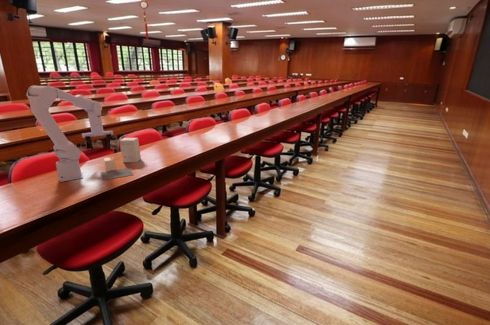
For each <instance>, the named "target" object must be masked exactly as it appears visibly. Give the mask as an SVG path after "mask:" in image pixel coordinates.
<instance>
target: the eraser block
mask: <svg viewBox="0 0 490 325" xmlns="http://www.w3.org/2000/svg"><path fill="white" fill-rule="evenodd" d="M103 160H104V166H105V172H106V171H112V170H117V168H116V162H115V158H114V156H110V157H104V158H103Z"/></svg>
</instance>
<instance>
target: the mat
mask: <svg viewBox="0 0 490 325" xmlns="http://www.w3.org/2000/svg"><path fill="white" fill-rule="evenodd" d="M100 176H101V181H107V180H108V181H109V180H112V179H119V177H120V178H125V177H130V176H134V173H133V171H132V169H131V167H125V168H120V169H116V170H111V171H106V170H105V171H100Z"/></svg>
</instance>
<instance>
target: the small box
mask: <svg viewBox="0 0 490 325" xmlns="http://www.w3.org/2000/svg"><path fill="white" fill-rule="evenodd" d="M119 145H120V150H121V156H122V157H121V158H122V162H123V163H138V162H139V161H140V160H142V157H141V156H142V155H141V150H140V144H139V137H124V138H122V139H119Z"/></svg>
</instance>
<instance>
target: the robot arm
mask: <svg viewBox="0 0 490 325" xmlns="http://www.w3.org/2000/svg"><path fill="white" fill-rule="evenodd" d="M26 97H27V99H28V101H29V107H30V111H31V114H33V116H34V117H35V119H36V120H37V122H38V123H39V124H40V126H41V127H42V128H43V130H44V132H45V133H46V134H47V136H48V137H49V138H50V140H51V142H52V143H53V147H52V148H53V150H54V155H55V157H57V158H58V159H59V160H58V161H56V162H55V165H56V171H57V177H58V179H59V182H61V183H62V182H67V181H73V180H79V179H83V176H84V172H82V170H81V166H80V161H79V160H80V158H81V155H82V154H81V153H82V152H81V150H80V148H78V147H77V146H76V145H75V144H74V143H73V142H71V141H70V140H69V139H68V138H67V136H66V135H65V134H64V132H63V131H62V129H61V128H60V126H59V125H58V123H57V122H56V119H54V117H53V115H52V114H51V112H50V111H49V109H50V107H51V106H52V105H53V103H54V102H55V101H56V99H60V100H63V101H66V102H70V103H71V104H72V105H73V106H74V107H76V108H78V109H82V110H84V111H85V112H86V113H87V116H88V121H89V128H90V131H91V132H86V133H85V132H83V133H81V136H82V139H85V141H86V142H87V143H88V145H89V147H90V149H91V151H94V147H93V143H92V138H93V137H103V136H105V138H106V143H107V144H106V147H107V149H110V142H111V139H112V135H113V136H114V131H113V130H104V126H103V120H102V119H103V118H102V110H103V106H102V104H101V103H100V102H99V101H97V100H92V98H91V97H90V98H89V97H86V96H84V94H76V95H73V94H71V93H69V92H66V91H64V90H62V89H60V88H58V87H55V86H54V87H53V86H51V85H34V84H33V85H31V86H28V89H27V91H26Z"/></svg>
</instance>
